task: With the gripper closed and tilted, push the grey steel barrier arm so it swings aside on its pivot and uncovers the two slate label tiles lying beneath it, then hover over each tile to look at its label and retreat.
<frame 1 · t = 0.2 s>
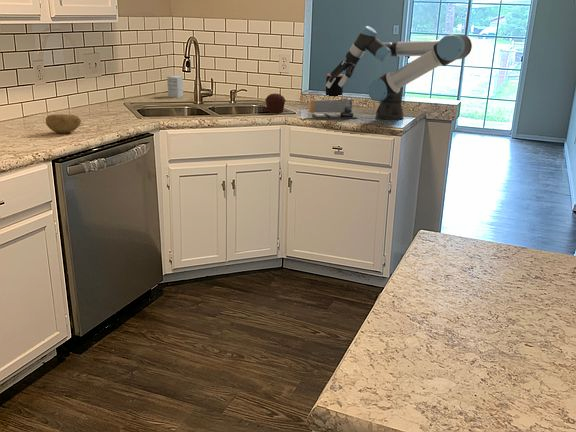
hand: (333, 86, 318), 15 cm above the worktop, tool tilted 35°, fingers open, 13 cm apart
coffee jar: (333, 103, 365), on the worktop
swing arm: (331, 105, 310), point 6 cm above the worktop, hinge at 0.0°
potato: (64, 133, 248), on the worktop
pivot plinth: (346, 117, 314), on the worktop
muffin: (275, 112, 324), on the worktop
label tile b: (319, 117, 311), on the worktop
supplement box: (175, 97, 369), on the worktop
label tile a: (332, 117, 313), on the worktop
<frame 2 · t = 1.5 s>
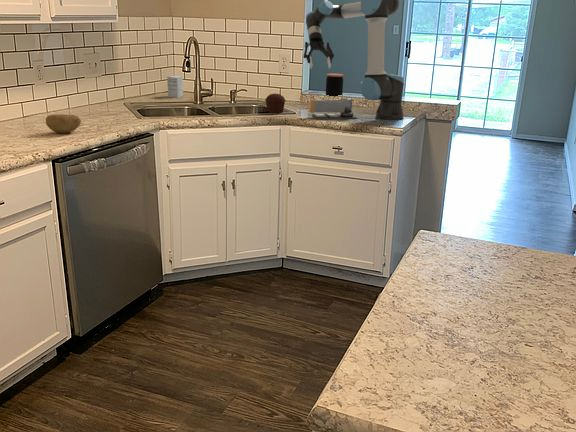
hand: (320, 67, 317), 25 cm above the worktop, tool tilted 45°, fingers open, 10 cm apart
nothing on the worktop moved.
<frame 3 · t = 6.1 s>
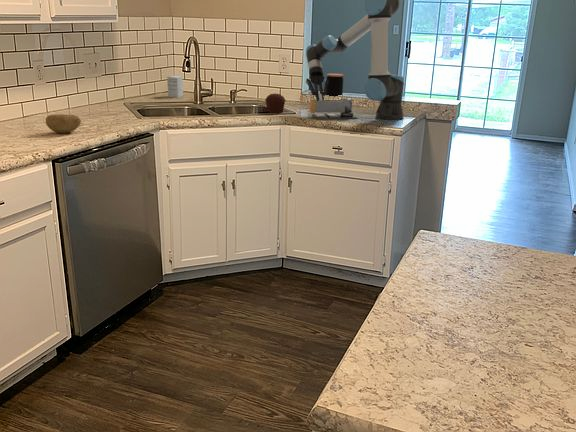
hand: (321, 105, 311), 6 cm above the worktop, tool tilted 45°, fingers closed
swing arm: (331, 105, 310), point 6 cm above the worktop, hinge at 2.8°, touching gripper
everything else where it was.
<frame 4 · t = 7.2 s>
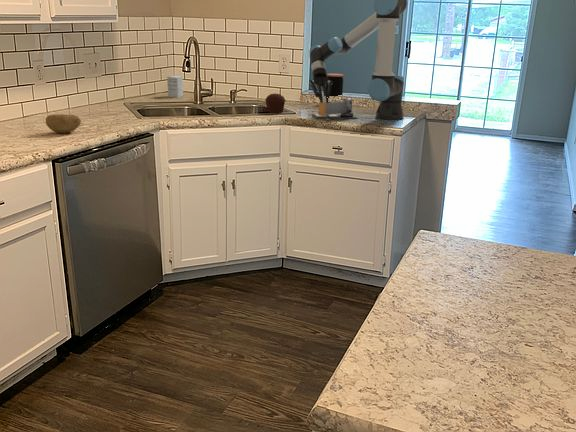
hand: (324, 107, 305), 6 cm above the worktop, tool tilted 45°, fingers closed
swing arm: (336, 106, 306), point 6 cm above the worktop, hinge at 32.2°, touching gripper
everything else where it was.
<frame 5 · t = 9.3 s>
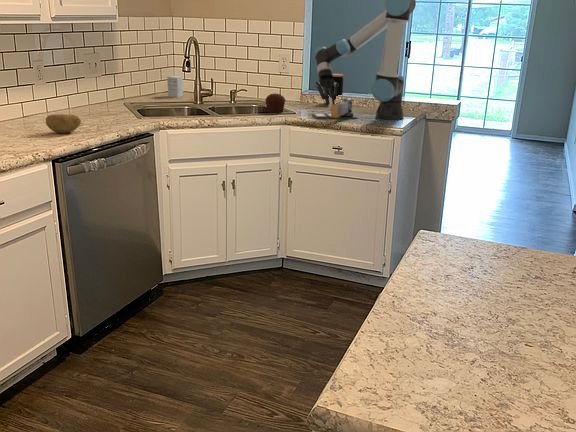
hand: (331, 109, 298), 6 cm above the worktop, tool tilted 45°, fingers closed
swing arm: (341, 107, 304), point 6 cm above the worktop, hinge at 54.5°, touching gripper
everything else where it was.
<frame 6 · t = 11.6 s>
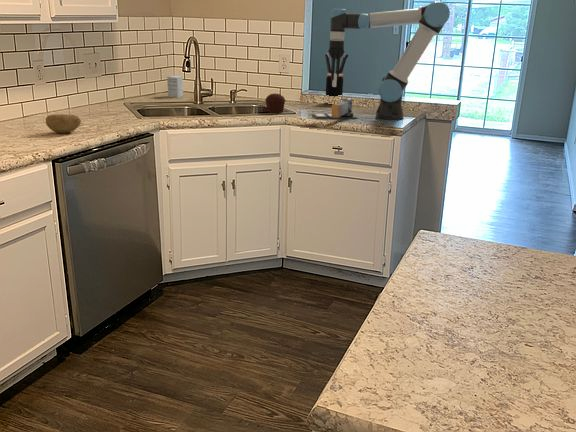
hand: (334, 86, 307), 16 cm above the worktop, tool pointing down, fingers closed
swing arm: (342, 107, 304), point 6 cm above the worktop, hinge at 55.2°
everything else where it was.
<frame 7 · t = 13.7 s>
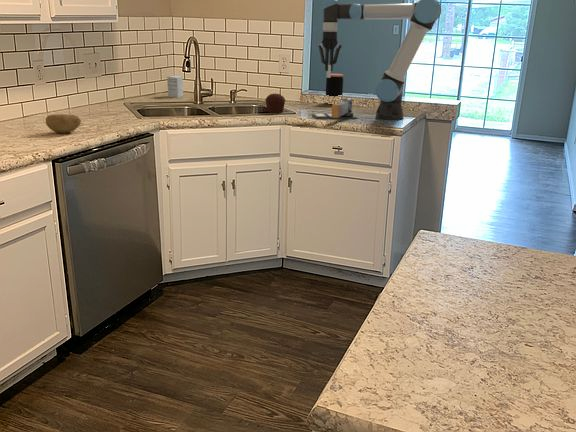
hand: (328, 77, 309), 21 cm above the worktop, tool pointing down, fingers closed
nothing on the worktop moved.
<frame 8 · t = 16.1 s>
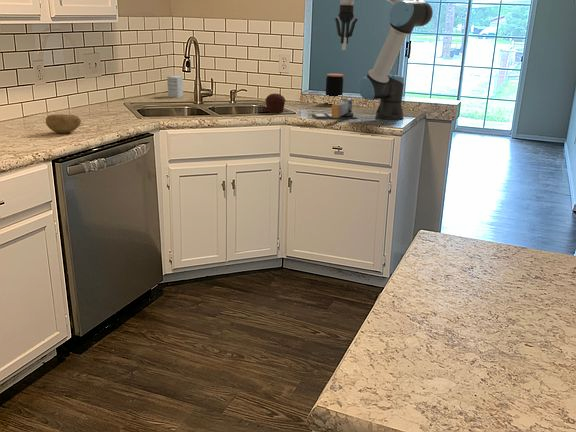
hand: (343, 49, 322), 34 cm above the worktop, tool pointing down, fingers closed
nothing on the worktop moved.
at the end: swing arm at +55° (first picture: +0°) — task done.
